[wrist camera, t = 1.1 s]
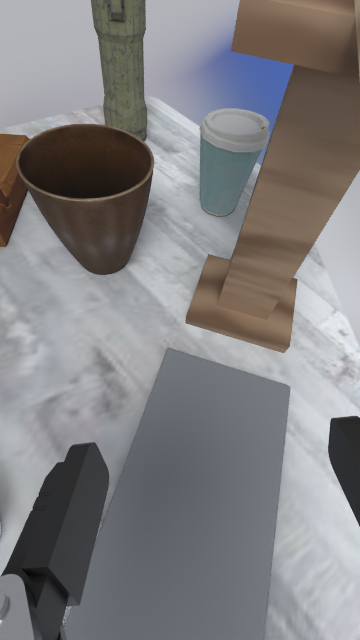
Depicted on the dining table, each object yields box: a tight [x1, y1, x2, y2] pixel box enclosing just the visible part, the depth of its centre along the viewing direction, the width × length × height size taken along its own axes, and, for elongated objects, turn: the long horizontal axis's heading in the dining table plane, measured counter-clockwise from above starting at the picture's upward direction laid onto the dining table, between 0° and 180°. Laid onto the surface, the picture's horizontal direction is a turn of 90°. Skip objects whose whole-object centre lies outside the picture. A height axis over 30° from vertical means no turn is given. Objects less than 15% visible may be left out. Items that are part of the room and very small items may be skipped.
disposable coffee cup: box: [199, 108, 270, 216], centre depth 50 cm, size 11×11×15 cm
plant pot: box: [16, 124, 154, 275], centre depth 40 cm, size 15×15×16 cm
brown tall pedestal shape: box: [186, 0, 360, 353], centre depth 31 cm, size 16×14×32 cm
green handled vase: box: [91, 0, 147, 142], centre depth 52 cm, size 9×12×35 cm
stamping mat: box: [64, 348, 290, 640], centre depth 31 cm, size 28×16×1 cm, turn 163°
